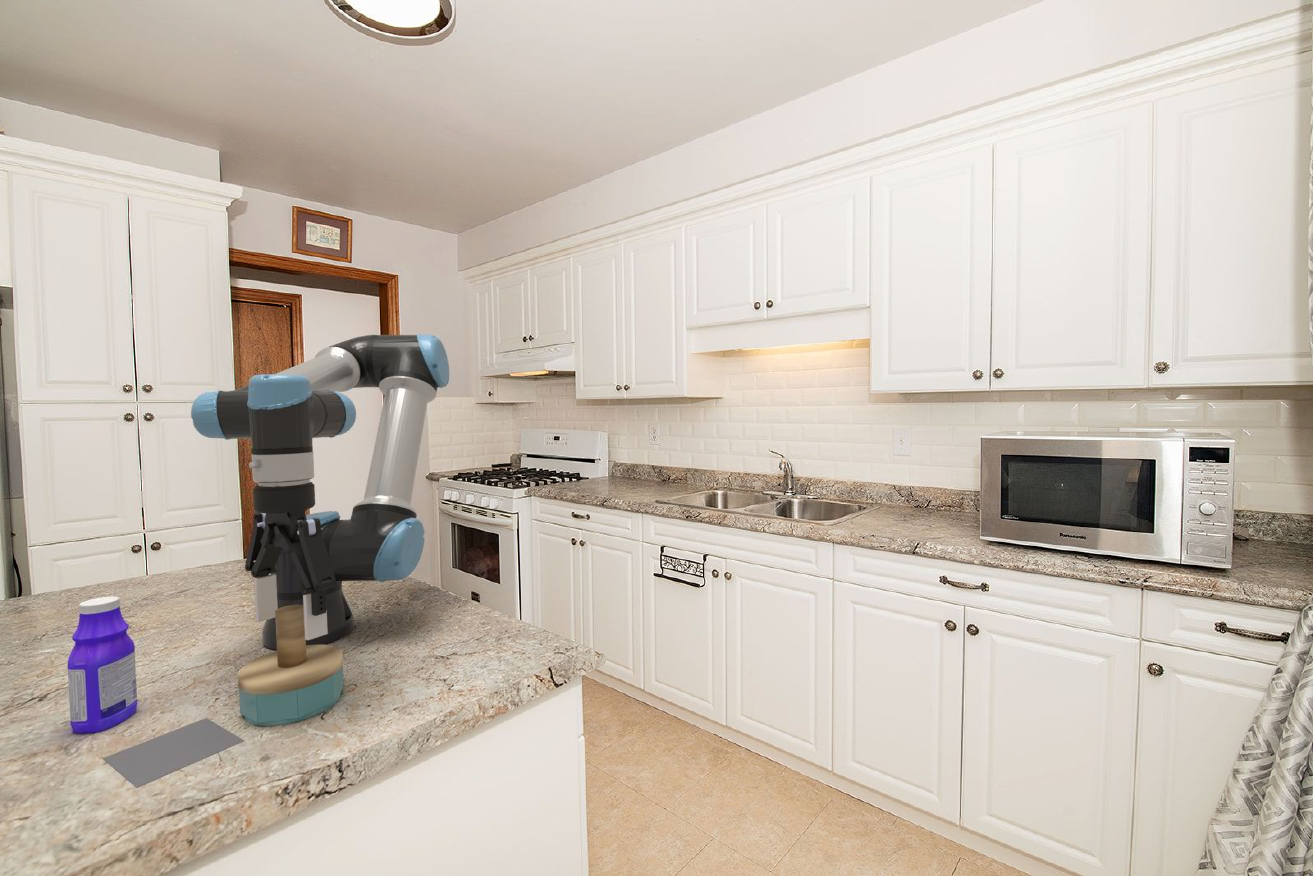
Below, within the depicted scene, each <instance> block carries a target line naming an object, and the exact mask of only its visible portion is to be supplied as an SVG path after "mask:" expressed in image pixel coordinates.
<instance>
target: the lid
mask: <svg viewBox="0 0 1313 876" xmlns="http://www.w3.org/2000/svg"><path fill="white" fill-rule="evenodd" d="M275 620H276V641H277V650H275V651H273V652H270V653H267V654H264V655H261V656H259V657H256V658H255V659H252V660H251V661H249V662H247V663H246V664H244V665H243V666H242V667H241V668H240V669H239V670H238V672H237V684H238V689H239V688H240V690H242V691H244V692H246V693H250V694H276V693H283V692H289V691H294V690H298V689H301V688H305V687H308V686H311V685H314V684H316V683H319V682H321V681H323V680H325V679H327V678H329V677H331V676H333V675H334V674H335V673H337V672H338V671H339V670H340V669H341V668H342V666H343V667H344V655H343V653H344V652H343V650H342V649H341V648H339V647H338V646H335V645H331V644H330V645H329V644H322V645H306V640H305V627H304V606H303V605H289V606H284V607H281V608H279V609H277V610H275Z"/></svg>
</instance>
